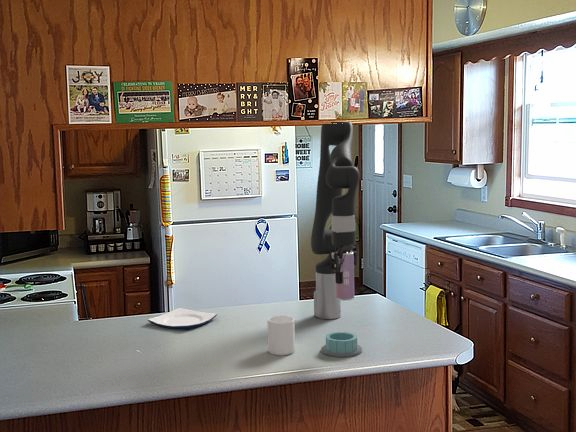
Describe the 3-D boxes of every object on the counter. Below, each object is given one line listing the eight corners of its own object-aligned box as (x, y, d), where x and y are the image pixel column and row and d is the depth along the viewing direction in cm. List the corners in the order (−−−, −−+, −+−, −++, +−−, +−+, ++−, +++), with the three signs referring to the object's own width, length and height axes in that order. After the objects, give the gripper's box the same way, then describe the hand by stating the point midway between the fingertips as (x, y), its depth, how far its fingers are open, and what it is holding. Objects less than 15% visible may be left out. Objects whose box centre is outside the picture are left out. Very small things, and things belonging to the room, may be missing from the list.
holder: (313, 352, 229) (313, 338, 228) (335, 342, 239) (335, 328, 238) (348, 360, 221) (348, 345, 220) (369, 349, 231) (369, 334, 231)
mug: (290, 343, 239) (290, 312, 237) (297, 355, 227) (296, 322, 225) (265, 345, 237) (264, 313, 236) (270, 356, 225) (269, 323, 224)
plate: (221, 320, 270) (221, 313, 269) (187, 334, 252) (186, 326, 252) (179, 313, 280) (179, 306, 280) (143, 326, 263) (143, 319, 263)
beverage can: (354, 296, 231) (353, 250, 230) (354, 300, 226) (353, 253, 224) (335, 296, 232) (335, 250, 230) (335, 300, 226) (334, 253, 224)
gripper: (345, 226, 234) (345, 276, 236) (321, 231, 223) (322, 284, 224) (365, 227, 230) (365, 278, 232) (342, 232, 218) (342, 287, 220)
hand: (344, 281), depth 228 cm, fingers closed on beverage can, 6 cm apart
